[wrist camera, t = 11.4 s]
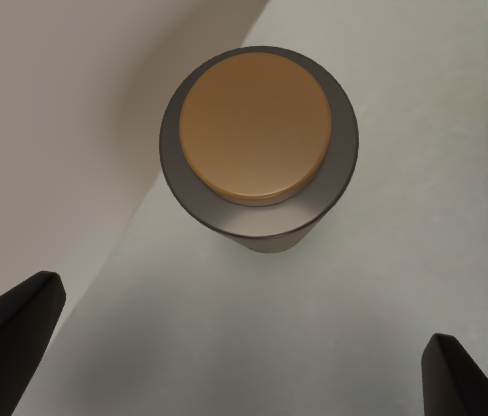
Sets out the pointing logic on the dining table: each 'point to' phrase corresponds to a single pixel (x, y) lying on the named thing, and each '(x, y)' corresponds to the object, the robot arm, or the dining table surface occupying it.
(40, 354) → the robot arm
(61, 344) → the dining table surface
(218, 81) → the pepper mill
